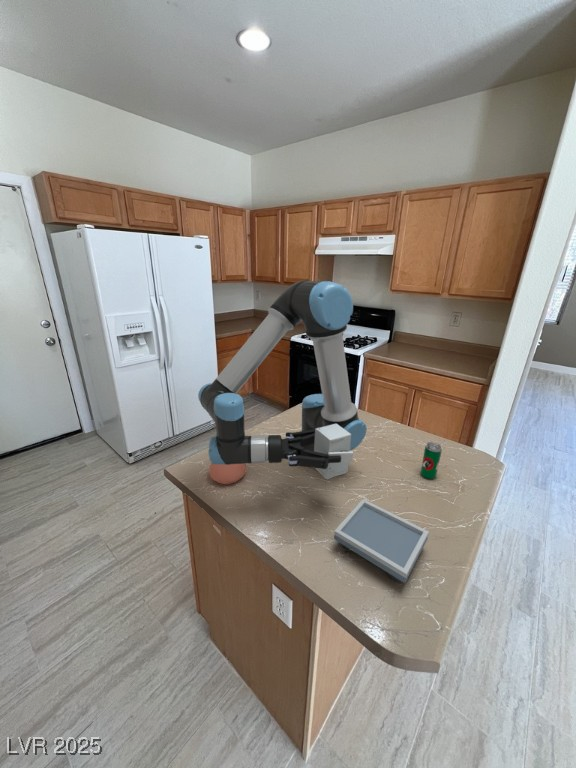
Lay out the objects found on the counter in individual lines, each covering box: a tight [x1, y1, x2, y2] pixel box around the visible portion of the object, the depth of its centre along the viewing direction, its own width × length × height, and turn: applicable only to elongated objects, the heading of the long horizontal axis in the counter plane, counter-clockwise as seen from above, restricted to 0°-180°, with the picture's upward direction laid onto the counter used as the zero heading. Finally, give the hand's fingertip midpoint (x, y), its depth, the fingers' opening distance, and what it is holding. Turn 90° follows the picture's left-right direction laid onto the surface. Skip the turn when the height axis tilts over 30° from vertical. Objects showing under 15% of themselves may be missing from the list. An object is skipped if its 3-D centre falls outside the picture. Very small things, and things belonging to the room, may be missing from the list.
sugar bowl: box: [208, 462, 247, 485], centre depth 105 cm, size 12×14×10 cm
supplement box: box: [314, 424, 351, 480], centre depth 87 cm, size 7×7×13 cm
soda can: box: [419, 441, 443, 480], centre depth 105 cm, size 5×5×12 cm
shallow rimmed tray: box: [333, 498, 430, 584], centre depth 78 cm, size 18×15×6 cm
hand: (347, 446), depth 87 cm, fingers closed on supplement box, 9 cm apart
